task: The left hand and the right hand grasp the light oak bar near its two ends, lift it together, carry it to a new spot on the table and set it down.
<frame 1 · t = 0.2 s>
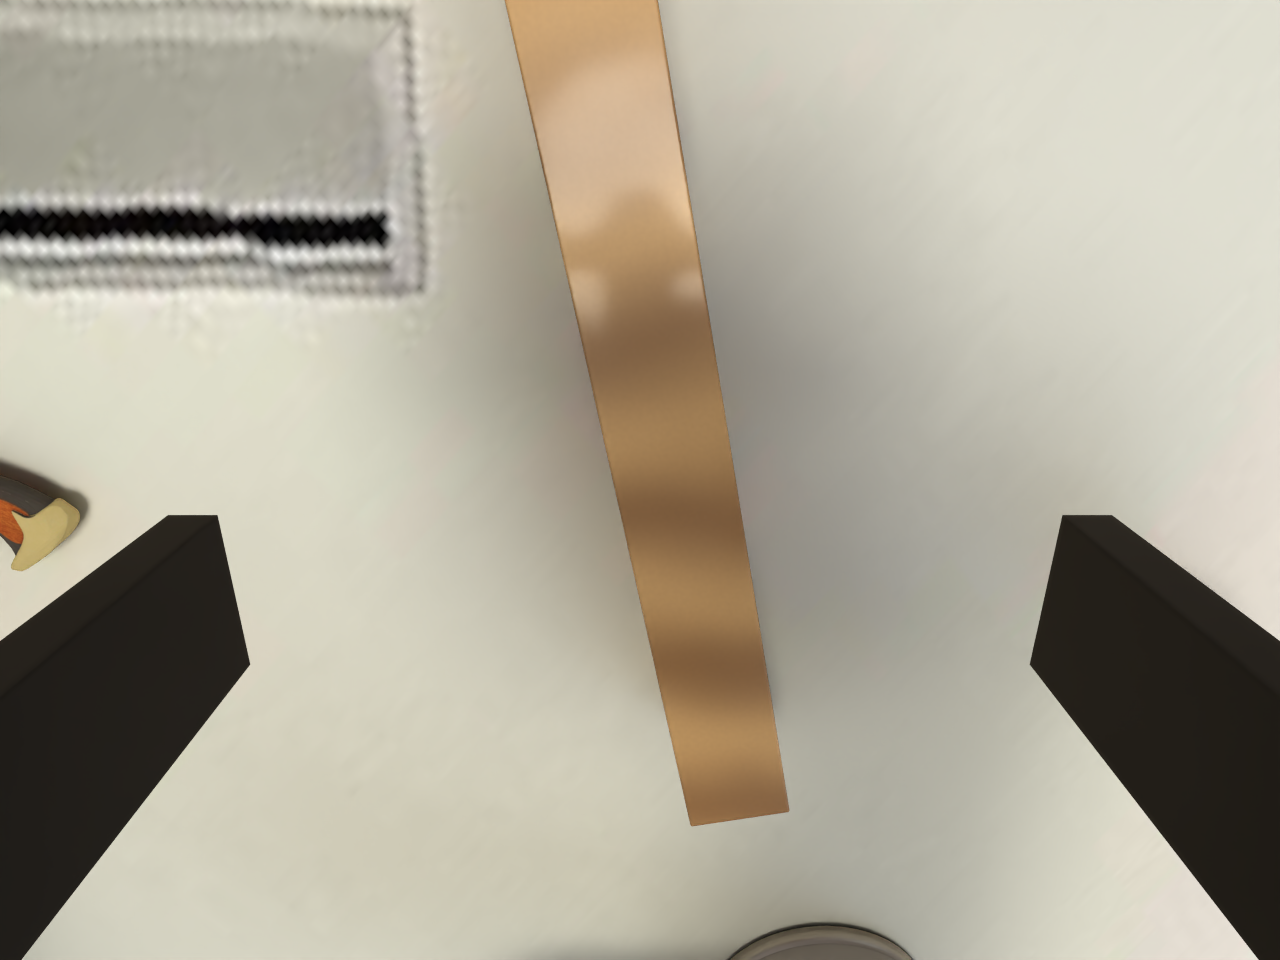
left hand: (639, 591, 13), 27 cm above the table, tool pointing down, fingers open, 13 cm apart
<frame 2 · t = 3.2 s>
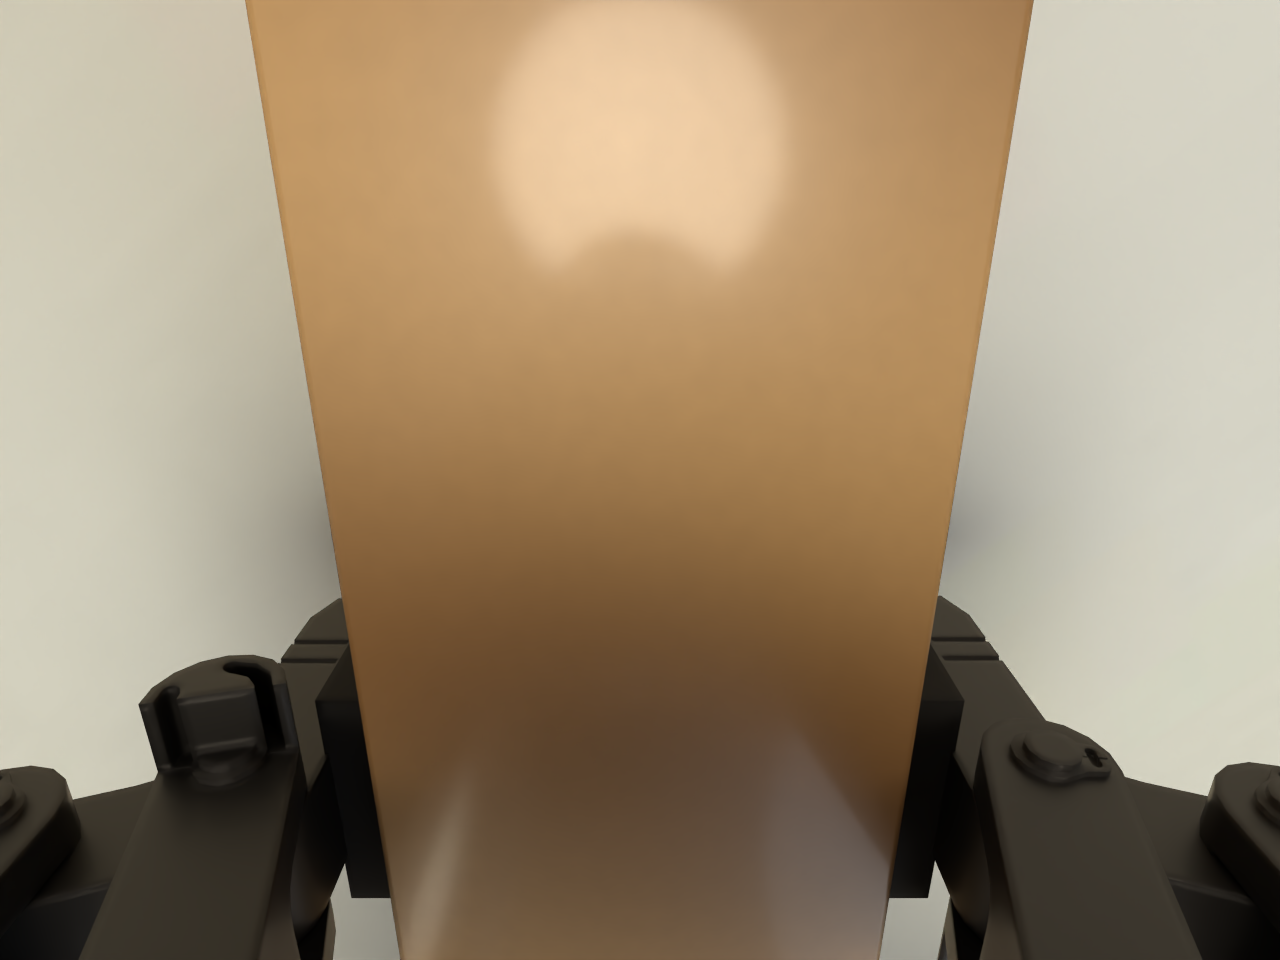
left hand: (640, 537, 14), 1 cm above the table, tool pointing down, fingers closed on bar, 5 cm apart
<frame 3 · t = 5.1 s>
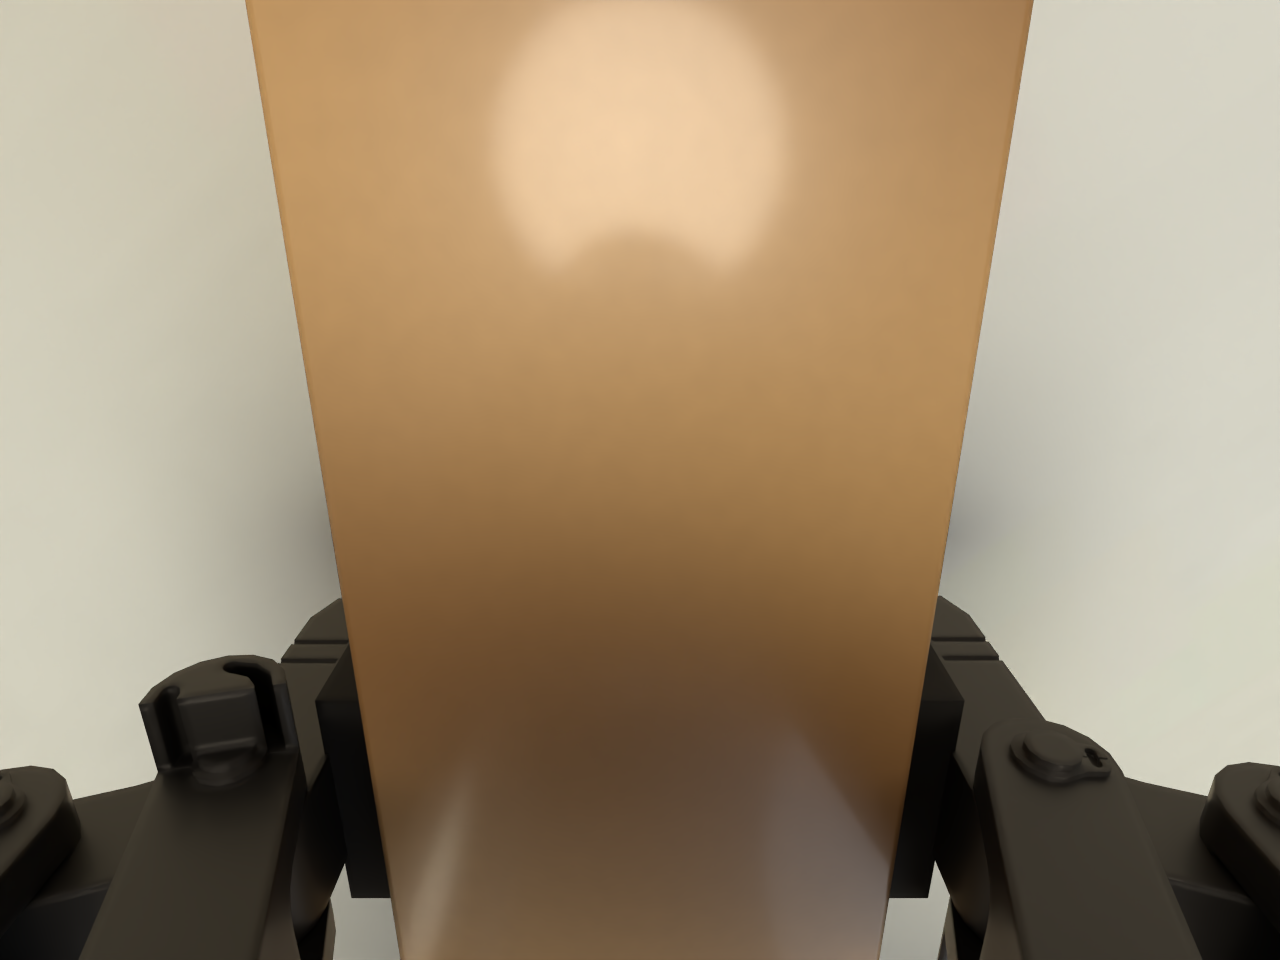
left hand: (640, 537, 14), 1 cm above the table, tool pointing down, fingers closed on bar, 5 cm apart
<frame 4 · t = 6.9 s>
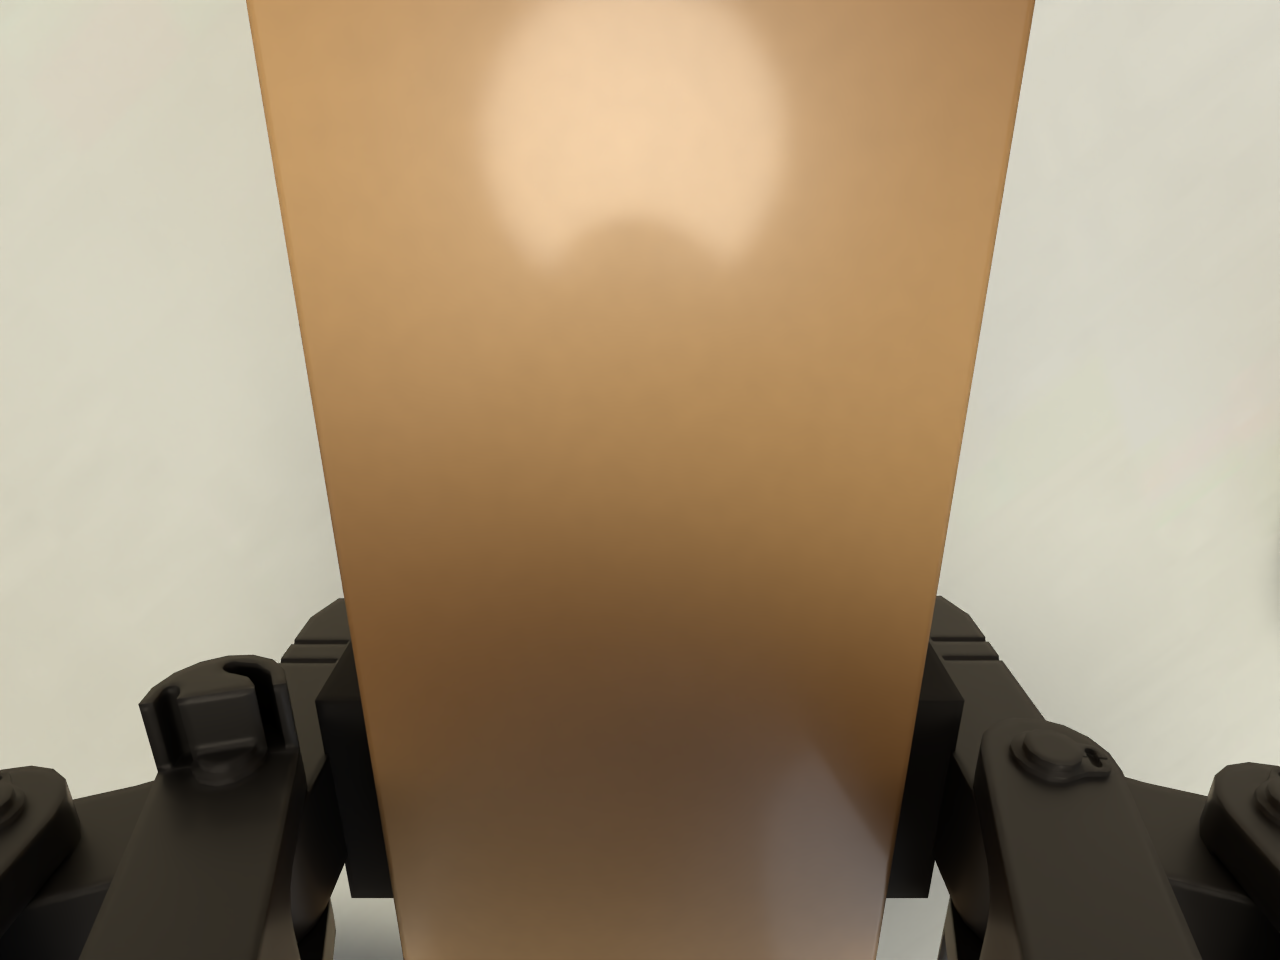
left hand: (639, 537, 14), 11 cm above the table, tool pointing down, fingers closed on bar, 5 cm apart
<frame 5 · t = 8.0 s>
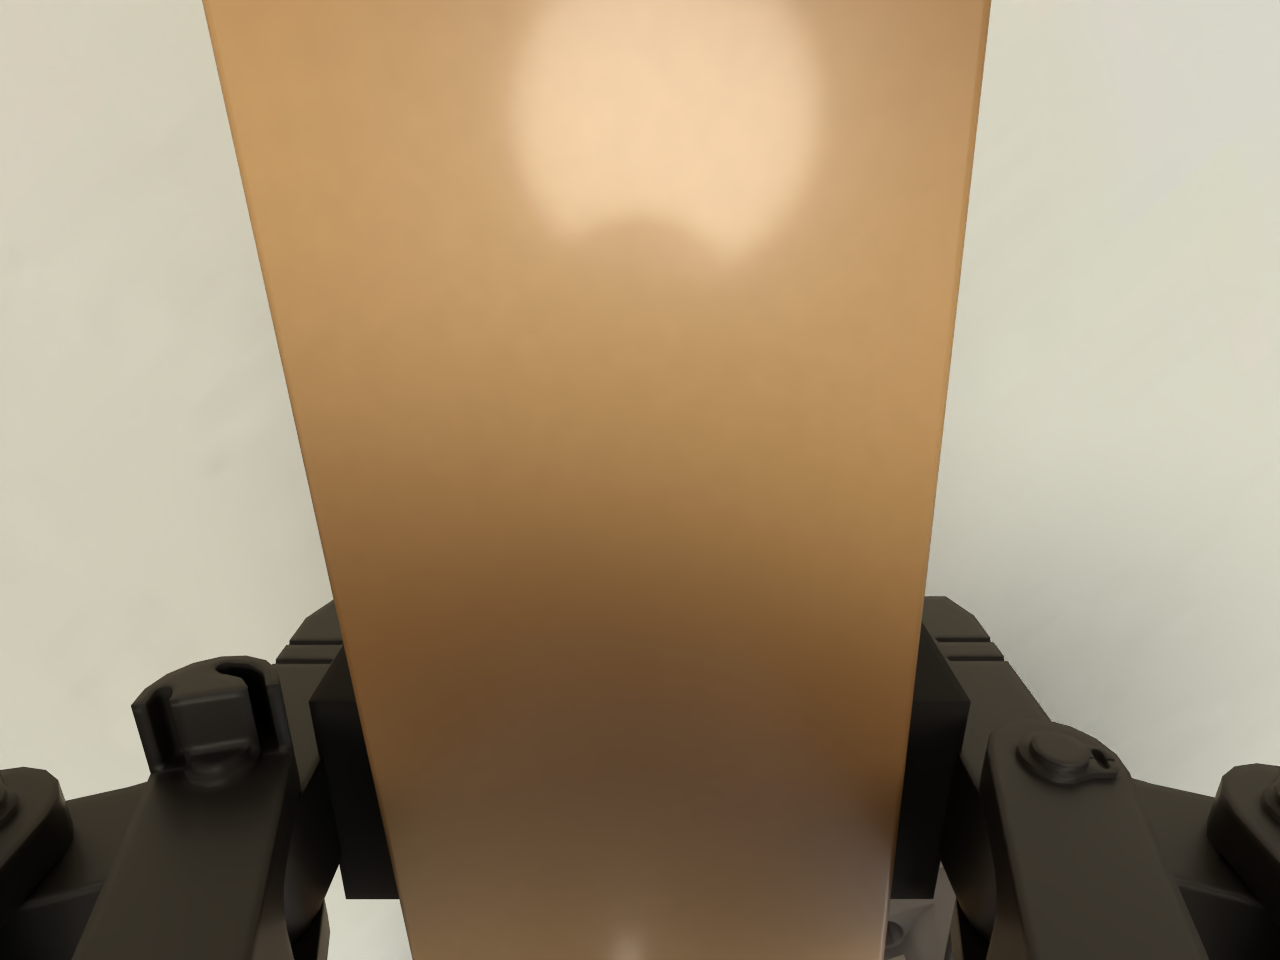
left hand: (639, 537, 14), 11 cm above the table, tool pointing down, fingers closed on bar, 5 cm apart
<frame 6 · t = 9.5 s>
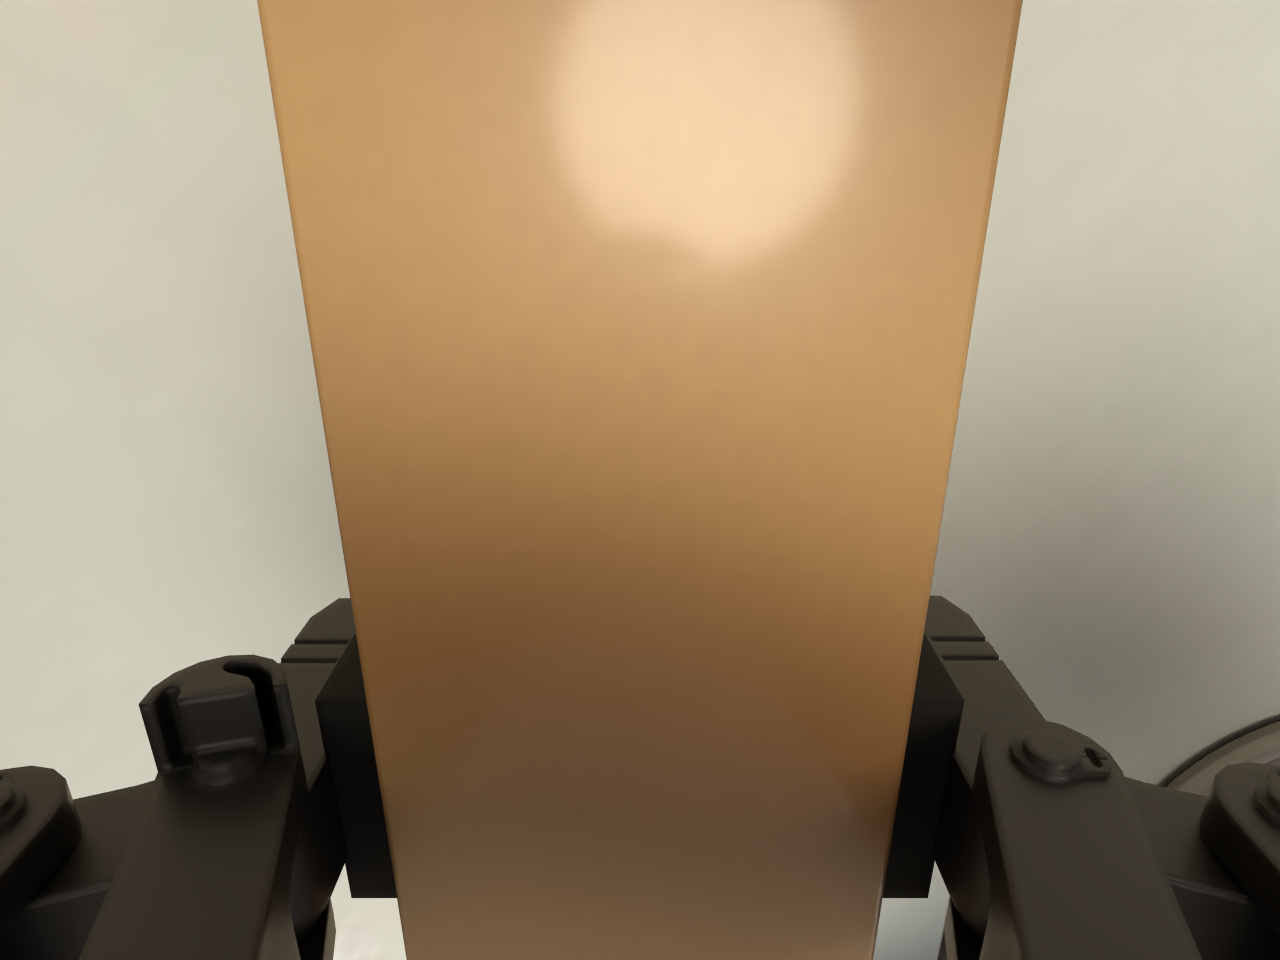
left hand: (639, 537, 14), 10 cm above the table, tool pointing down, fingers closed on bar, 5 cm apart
when the left hand's fingers open (2 cm above the table, at t = 10.8 s): bar drops 1 cm, on the table.
when the right hand's fingers open (5 cm above the table, at t = 10.9 s): bar stays where it is, on the table.
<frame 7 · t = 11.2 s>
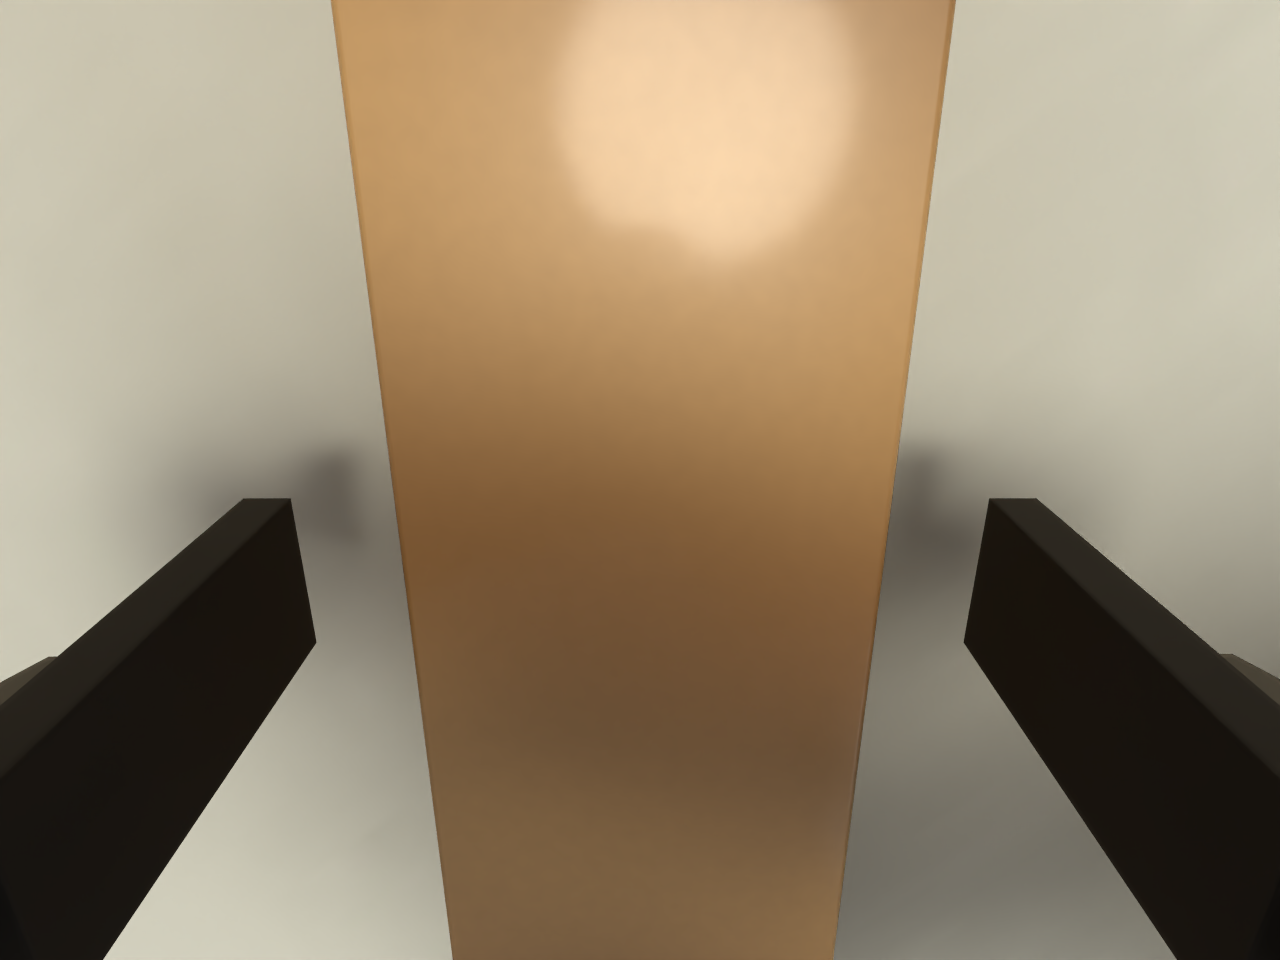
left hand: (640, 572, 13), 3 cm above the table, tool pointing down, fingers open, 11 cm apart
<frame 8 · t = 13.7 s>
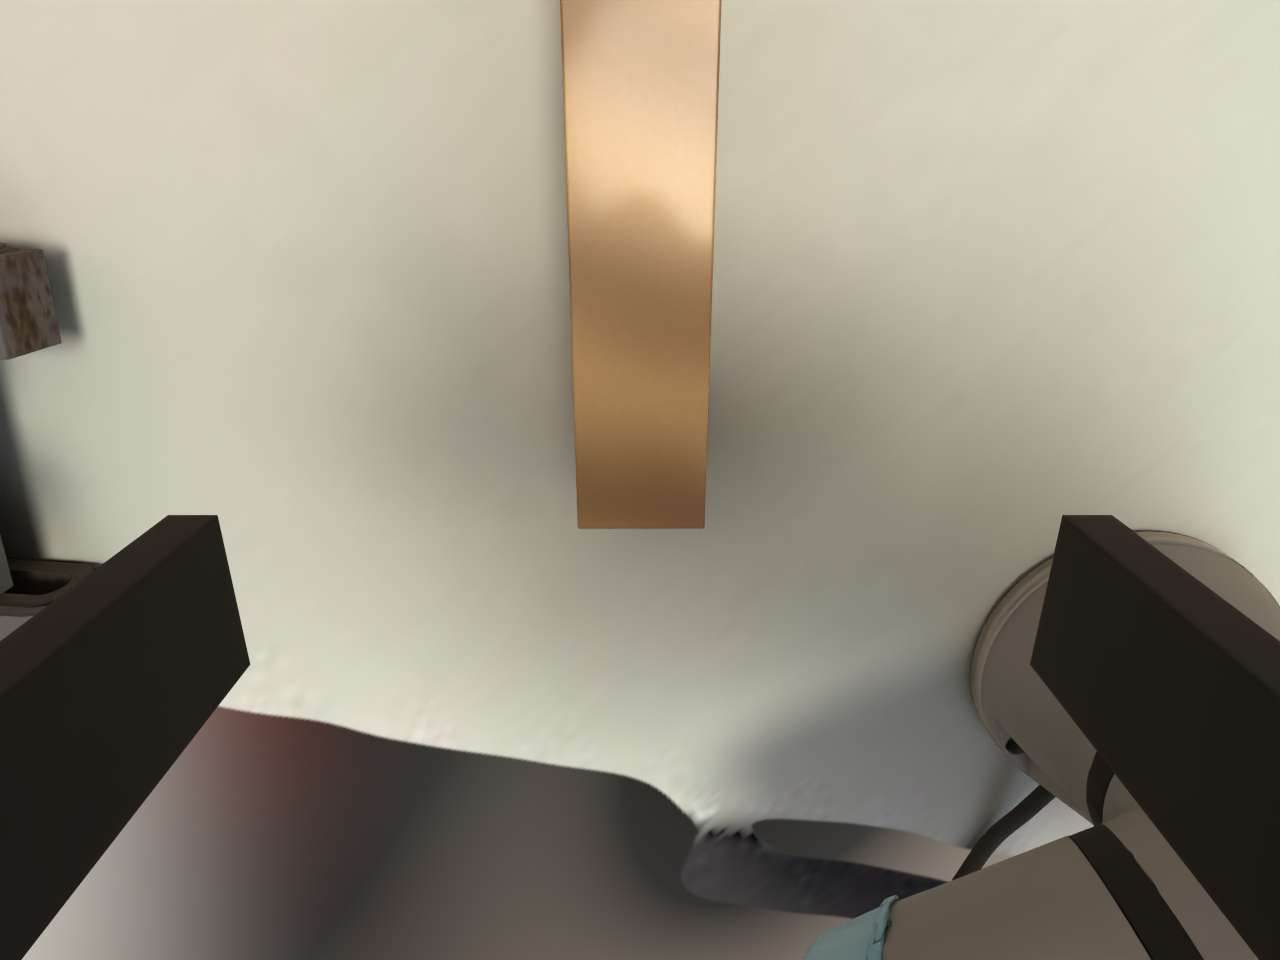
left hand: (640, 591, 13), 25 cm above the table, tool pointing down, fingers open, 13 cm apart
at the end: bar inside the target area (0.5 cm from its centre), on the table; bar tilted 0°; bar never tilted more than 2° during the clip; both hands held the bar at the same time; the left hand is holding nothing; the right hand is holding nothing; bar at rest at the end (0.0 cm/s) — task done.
